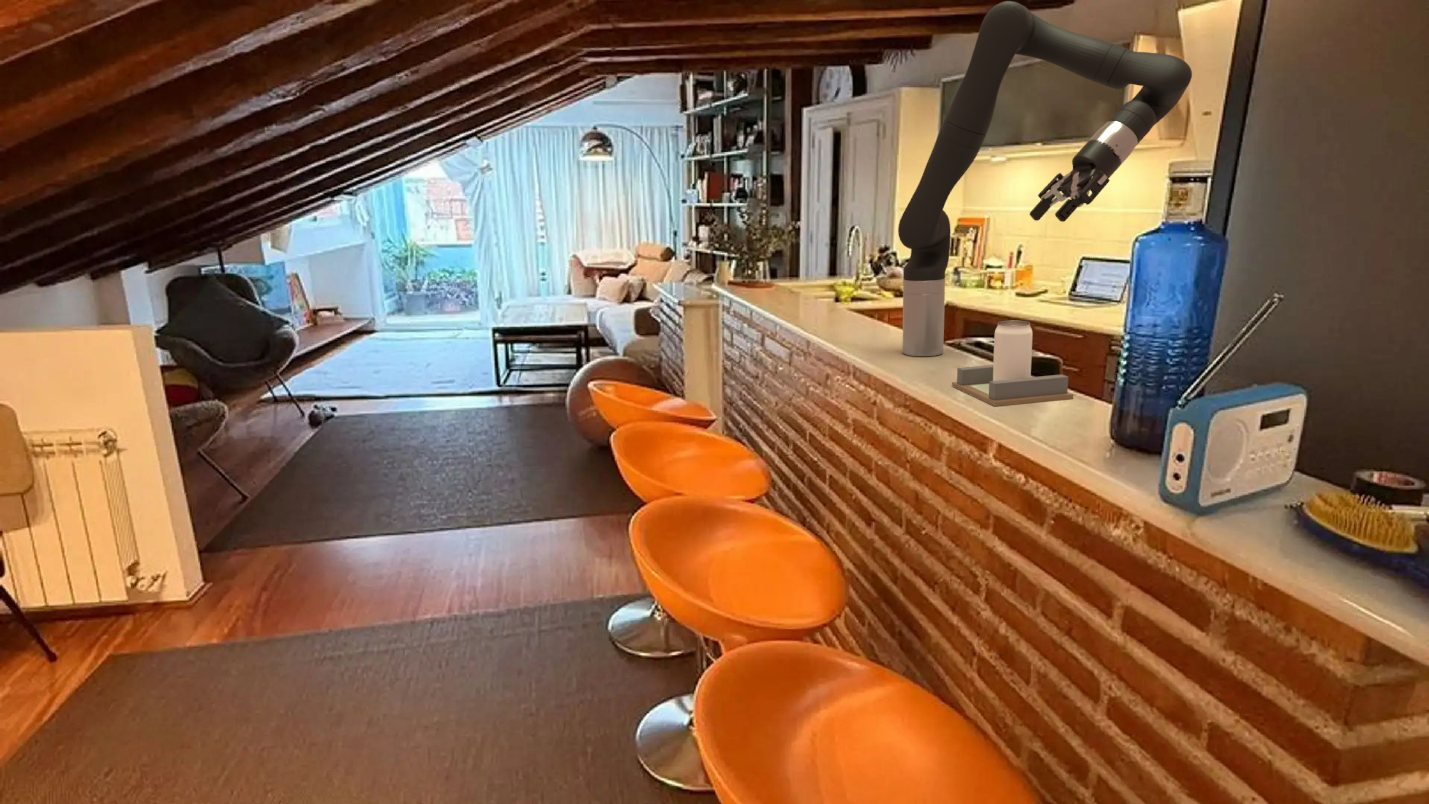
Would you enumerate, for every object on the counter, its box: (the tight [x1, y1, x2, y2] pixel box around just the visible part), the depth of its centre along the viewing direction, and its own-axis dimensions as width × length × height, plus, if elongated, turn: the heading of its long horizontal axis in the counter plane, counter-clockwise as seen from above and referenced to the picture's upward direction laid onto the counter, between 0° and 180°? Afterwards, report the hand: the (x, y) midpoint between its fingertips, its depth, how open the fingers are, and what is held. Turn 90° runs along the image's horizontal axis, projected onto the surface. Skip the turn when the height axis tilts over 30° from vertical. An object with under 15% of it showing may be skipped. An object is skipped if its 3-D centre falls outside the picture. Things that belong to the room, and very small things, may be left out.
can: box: [992, 320, 1033, 381], centre depth 145 cm, size 6×6×12 cm
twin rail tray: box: [951, 364, 1074, 407], centre depth 146 cm, size 16×15×4 cm
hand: (1045, 218), depth 151 cm, fingers open, 8 cm apart
